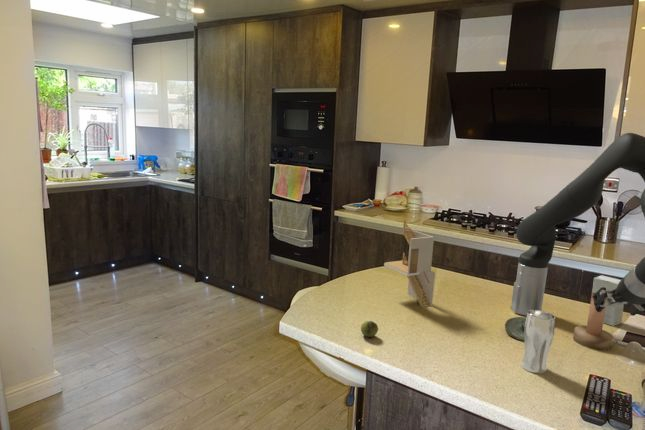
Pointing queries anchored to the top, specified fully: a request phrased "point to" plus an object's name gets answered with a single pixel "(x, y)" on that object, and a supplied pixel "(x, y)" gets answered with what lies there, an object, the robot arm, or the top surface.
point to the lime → (369, 329)
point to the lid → (516, 327)
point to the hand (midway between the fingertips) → (614, 310)
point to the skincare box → (612, 312)
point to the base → (592, 339)
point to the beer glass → (537, 340)
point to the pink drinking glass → (595, 319)
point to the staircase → (417, 266)
